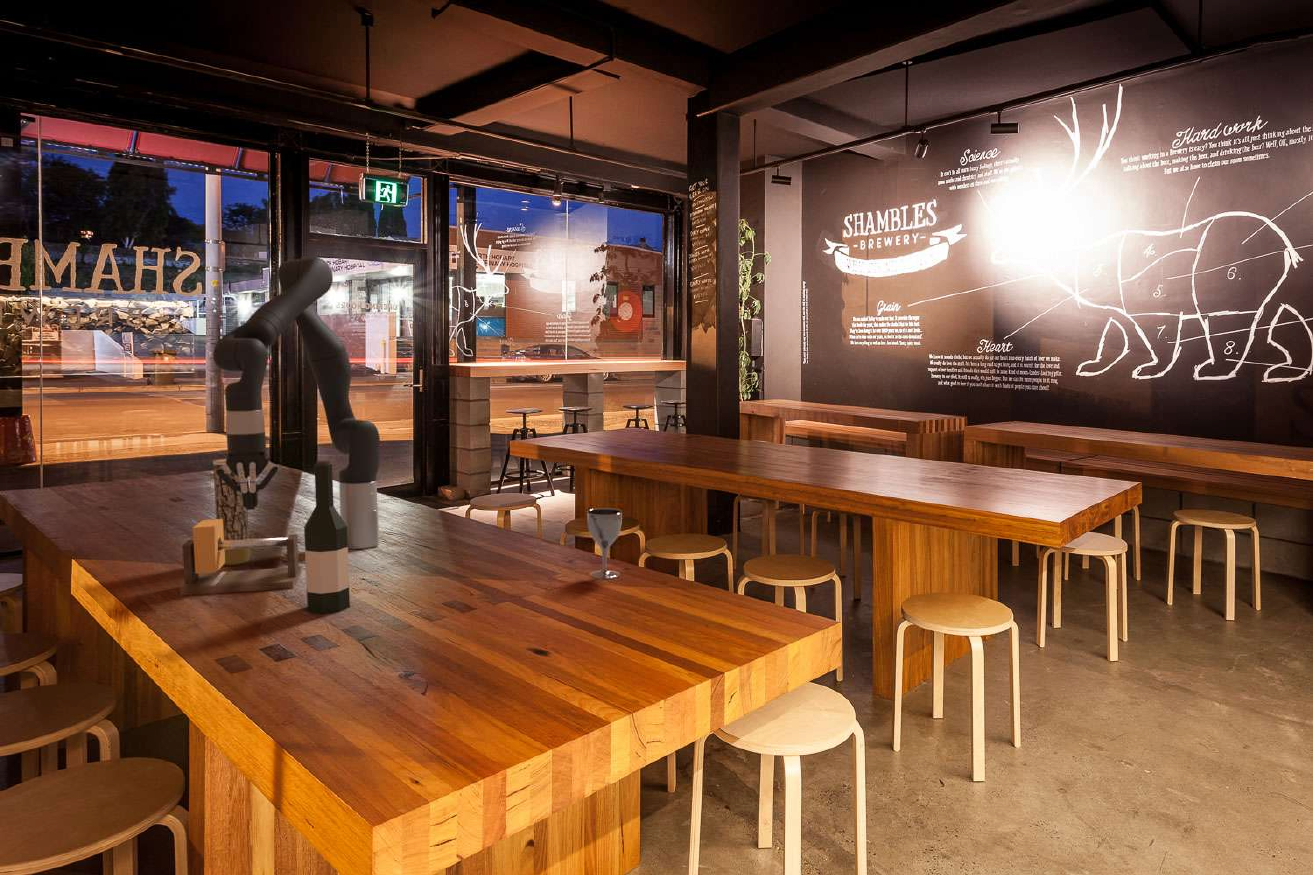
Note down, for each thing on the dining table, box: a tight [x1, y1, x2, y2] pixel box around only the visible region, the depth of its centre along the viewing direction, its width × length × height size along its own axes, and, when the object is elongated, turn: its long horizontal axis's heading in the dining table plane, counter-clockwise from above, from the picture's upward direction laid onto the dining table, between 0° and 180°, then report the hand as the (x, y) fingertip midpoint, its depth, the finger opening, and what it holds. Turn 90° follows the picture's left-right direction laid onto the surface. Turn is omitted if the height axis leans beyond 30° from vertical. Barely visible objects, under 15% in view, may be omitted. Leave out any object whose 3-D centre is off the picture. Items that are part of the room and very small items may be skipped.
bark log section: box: [212, 458, 251, 566], centre depth 198 cm, size 7×7×25 cm
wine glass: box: [587, 507, 623, 580], centre depth 191 cm, size 8×8×15 cm
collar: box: [192, 518, 225, 574], centre depth 179 cm, size 4×8×10 cm, turn 15°
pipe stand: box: [179, 534, 302, 596], centre depth 181 cm, size 22×12×10 cm, turn 105°
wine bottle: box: [303, 459, 351, 615], centre depth 164 cm, size 8×8×30 cm
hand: (250, 508), depth 181 cm, fingers closed
